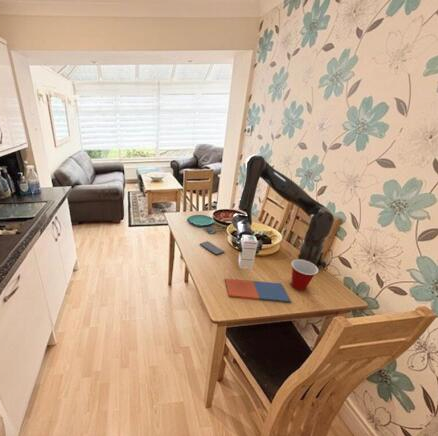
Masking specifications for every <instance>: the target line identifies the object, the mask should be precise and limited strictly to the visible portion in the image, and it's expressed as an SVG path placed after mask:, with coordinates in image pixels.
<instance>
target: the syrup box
mask: <svg viewBox="0 0 438 436" xmlns="http://www.w3.org/2000/svg"><path fill="white" fill-rule="evenodd" d="M253 235H254V234H253ZM253 235H242V241H241V245H242V252H240V251H239V253H238V260H237V263H238V266H239V267H238V268H239V269H246V270H253V268H254V264H255V259H256V255H257V254H256V248H257V245H258V244H257V243H258V242H257V241H258V240H257V237H256V235H254V236H253Z"/></svg>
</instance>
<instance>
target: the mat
mask: <svg viewBox="0 0 438 436" xmlns="http://www.w3.org/2000/svg"><path fill="white" fill-rule="evenodd" d="M224 281H225V284H226V288H227V293H228V297H229V298H238V299H239V298H240V299H247V300H248V299H249V300H258V301H267V302H268V301H269V302H278V303H289V304H291V302H292V301H291V299H290V297H289V295H288V293H287V292H286V290H285V288H284V286H283V284H282V283H281V282H280V283H279V282H269V281H257V280H245V279H236V278H234V279H233V278H225V280H224Z"/></svg>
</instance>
